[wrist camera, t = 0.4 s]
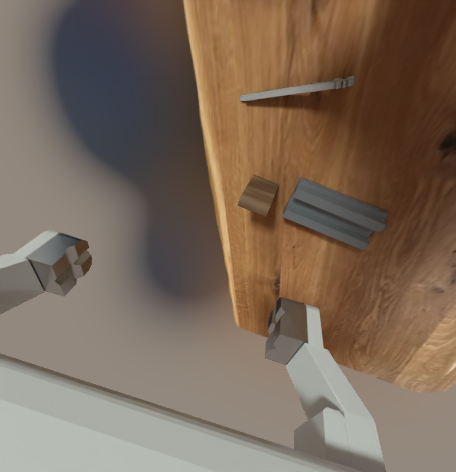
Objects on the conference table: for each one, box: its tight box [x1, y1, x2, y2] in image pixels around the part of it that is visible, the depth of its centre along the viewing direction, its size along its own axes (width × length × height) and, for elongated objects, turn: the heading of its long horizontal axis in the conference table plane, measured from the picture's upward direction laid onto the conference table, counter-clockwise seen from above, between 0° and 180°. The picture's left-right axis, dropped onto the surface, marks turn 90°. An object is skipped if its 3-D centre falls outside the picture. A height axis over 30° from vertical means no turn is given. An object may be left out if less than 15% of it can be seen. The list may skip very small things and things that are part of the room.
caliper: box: [240, 75, 355, 101], centre depth 42 cm, size 20×1×6 cm, turn 101°
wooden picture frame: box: [238, 175, 279, 217], centre depth 54 cm, size 3×6×11 cm, turn 75°
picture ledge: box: [282, 177, 388, 250], centre depth 55 cm, size 10×20×4 cm, turn 75°
